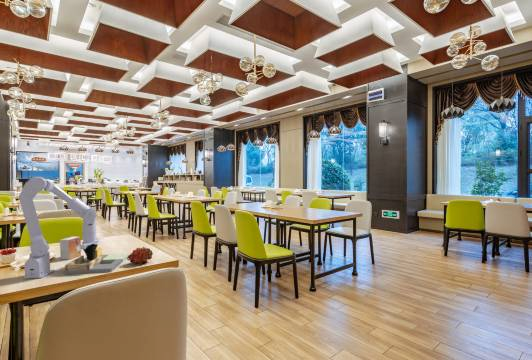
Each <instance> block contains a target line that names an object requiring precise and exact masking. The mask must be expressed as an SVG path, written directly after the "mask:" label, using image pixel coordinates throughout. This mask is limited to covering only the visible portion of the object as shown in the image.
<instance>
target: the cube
mask: <svg viewBox="0 0 532 360" xmlns="http://www.w3.org/2000/svg"><path fill="white" fill-rule="evenodd" d="M102 249H103V248H102V247H97V248H96V250H95V254H94V258H93V260H94V259H95V258H97V257H98V256H100V255H103V254H102V252H103V251H102ZM87 261H90V260H88V259H87Z"/></svg>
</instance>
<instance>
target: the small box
mask: <svg viewBox="0 0 532 360" xmlns="http://www.w3.org/2000/svg"><path fill="white" fill-rule="evenodd" d="M81 241H82V240H81V236H70V237H65V238H62V239H59V249H60V253H59V254H60V257H59V258H60V260H72V259H74V258H75V259H76V258H79V257H80V256H82V249H80V245H82V242H81Z"/></svg>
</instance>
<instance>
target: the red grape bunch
mask: <svg viewBox="0 0 532 360" xmlns="http://www.w3.org/2000/svg"><path fill="white" fill-rule="evenodd" d="M153 254H154V253H153V251H152V250H151V249H150V248H147V247H145V246H142V247H136V248H135V249H133V250H132V252H131V253H130V254H129V256H128V257H127V259H128V260H129V259H131V260H129V262H130V263H132V264H139V265H142V264H143V263H144V264H145V263H147V261H148V260H151V259H152V258H153V257H152V256H153ZM127 259H126V260H127Z"/></svg>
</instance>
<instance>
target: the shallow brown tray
mask: <svg viewBox="0 0 532 360" xmlns="http://www.w3.org/2000/svg"><path fill="white" fill-rule="evenodd" d="M103 255H104V254H102V255H100V256H98V257H97V258H95V259H94V260H92V261H91V262H89V263H88V264H79V263H81V262H83V261H84V258H85V256H84V255H81V256H78V257H76V258H75V259H74V260H72V261H70V262H68V263H66V264H65V265H64V268H65V269H64V271H72V270H89V269H91V268H92V267H93V266H95V265H96V264H98V263H99V262H100V261H102V260H103Z"/></svg>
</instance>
